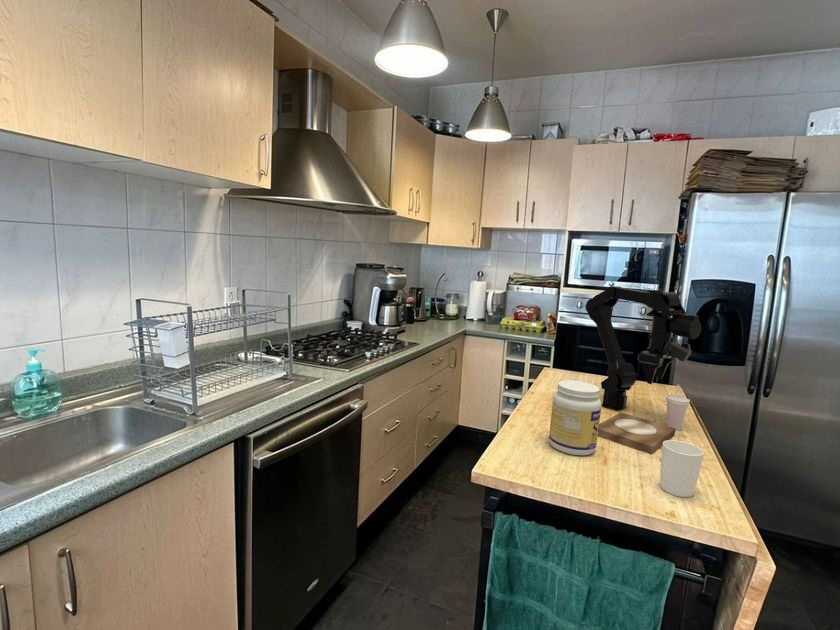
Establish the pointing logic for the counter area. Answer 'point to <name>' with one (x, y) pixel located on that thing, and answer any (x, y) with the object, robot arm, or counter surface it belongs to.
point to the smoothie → (676, 409)
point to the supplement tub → (575, 417)
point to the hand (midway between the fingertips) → (654, 381)
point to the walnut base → (635, 432)
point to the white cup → (680, 467)
